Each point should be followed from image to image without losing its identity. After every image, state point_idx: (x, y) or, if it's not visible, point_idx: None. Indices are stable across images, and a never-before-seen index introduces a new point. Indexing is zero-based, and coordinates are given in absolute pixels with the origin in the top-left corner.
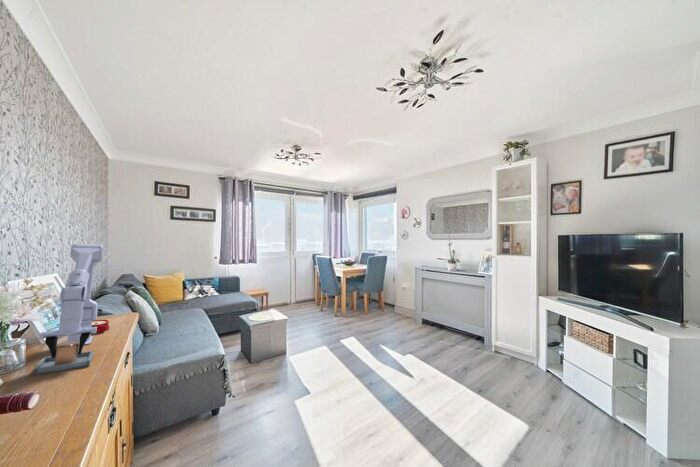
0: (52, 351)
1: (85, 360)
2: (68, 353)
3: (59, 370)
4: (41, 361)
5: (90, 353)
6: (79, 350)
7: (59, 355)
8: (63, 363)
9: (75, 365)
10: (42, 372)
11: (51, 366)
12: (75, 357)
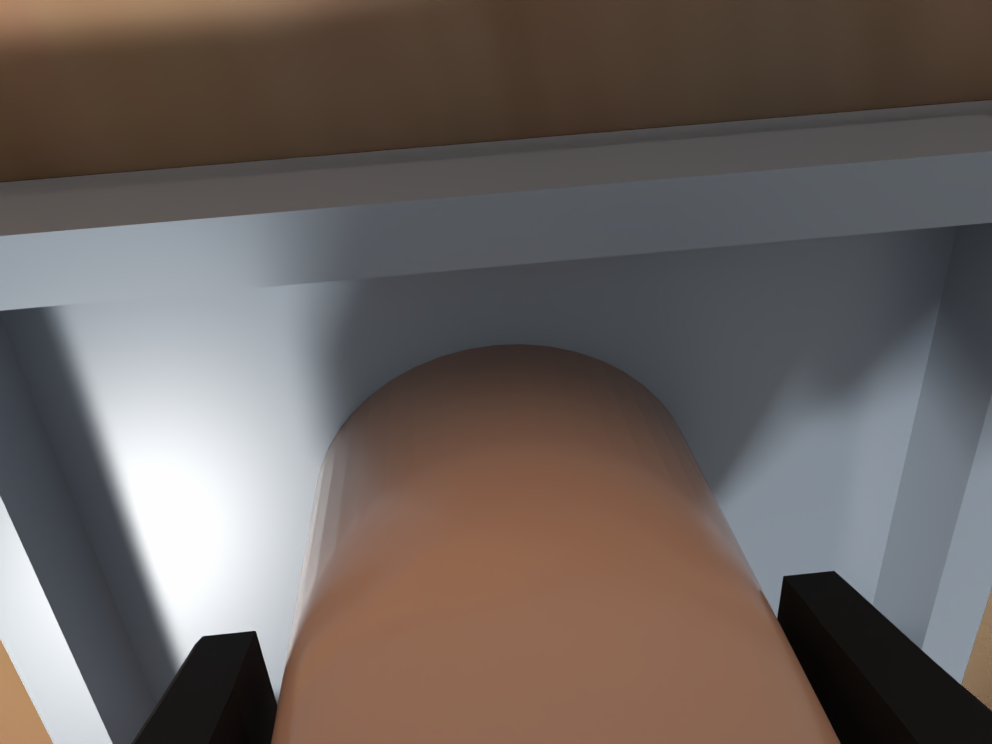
0: (963, 734)
1: (139, 518)
2: (449, 589)
3: (535, 143)
4: (963, 595)
5: (101, 742)
6: (181, 733)
7: (691, 556)
8: (520, 379)
9: (193, 190)
10: (870, 115)
11: (755, 170)
12: (305, 551)
